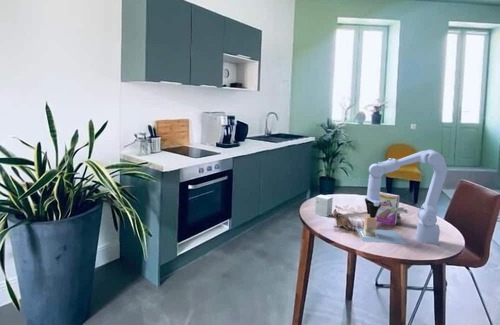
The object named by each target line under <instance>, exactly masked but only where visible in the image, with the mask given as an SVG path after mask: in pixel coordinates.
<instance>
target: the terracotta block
mask: <svg viewBox="0 0 500 325" xmlns="http://www.w3.org/2000/svg"><path fill="white" fill-rule="evenodd" d="M377 223H378V222H377V218H376V217H375V218H370V214H366V215H365V214H364V223H363V225H364V224H365V225H366V227H373V228H376V229H377Z"/></svg>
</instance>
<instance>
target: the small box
mask: <svg viewBox="0 0 500 325" xmlns="http://www.w3.org/2000/svg"><path fill="white" fill-rule="evenodd" d="M314 203H315V204H314V214H315V215H318V216H322V217H325V218H327V217H330V216H332V215H333V212H332V210H333V197H332V196H328V195H324V194H319V195H316V196H315V202H314ZM331 214H332V215H331ZM329 215H330V216H329Z"/></svg>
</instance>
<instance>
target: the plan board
mask: <svg viewBox="0 0 500 325" xmlns="http://www.w3.org/2000/svg"><path fill="white" fill-rule="evenodd" d="M355 230H356V231H357V233H358V235H359V237H360V238H361V239H360V240H361V241H362V242H366V243H384V244H385V243H387V244H402V245H407V243H406V241H405V240H404V239H403V238H402V236H401V235H400V234H399V233H398V231H397V230H392V229H391V230H389V229H376V231H375V236H365V234H364V232H363V231H364V228H360V227H359V228H358V227H355Z"/></svg>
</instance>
